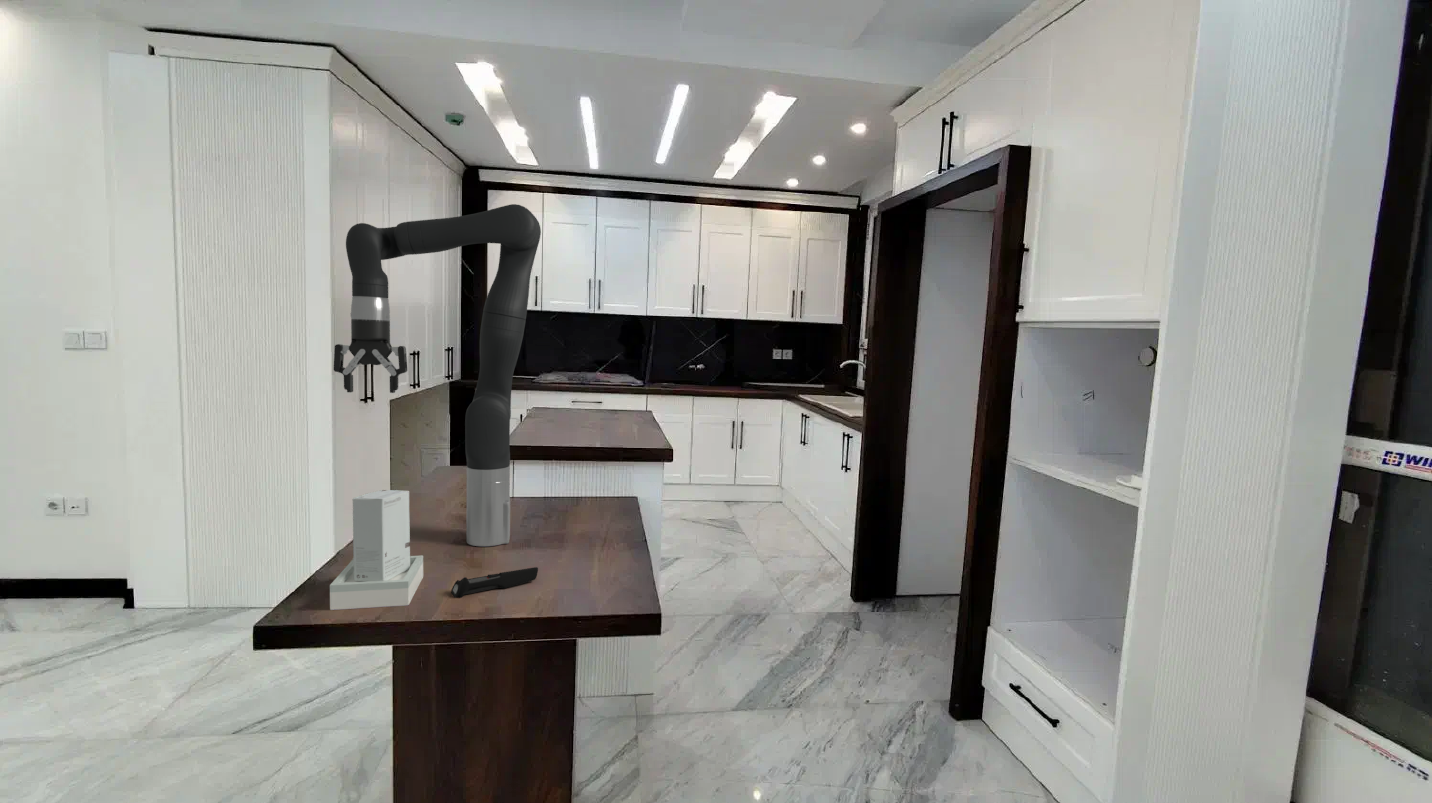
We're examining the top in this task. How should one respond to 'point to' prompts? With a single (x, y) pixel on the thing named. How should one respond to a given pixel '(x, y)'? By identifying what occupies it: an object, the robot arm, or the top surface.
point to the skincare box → (381, 535)
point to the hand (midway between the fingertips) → (371, 392)
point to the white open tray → (375, 588)
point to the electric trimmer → (493, 581)
